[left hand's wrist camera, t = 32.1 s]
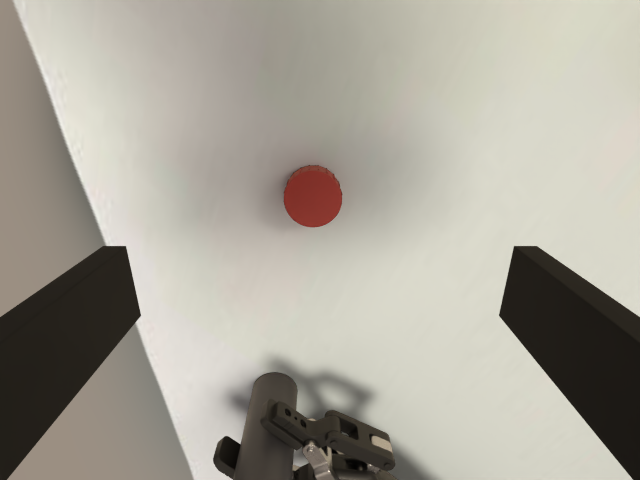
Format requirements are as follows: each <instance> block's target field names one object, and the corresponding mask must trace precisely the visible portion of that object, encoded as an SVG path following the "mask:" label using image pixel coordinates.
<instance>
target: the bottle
mask: <svg viewBox="0 0 640 480" xmlns="http://www.w3.org/2000/svg"><path fill="white" fill-rule="evenodd" d="M269 399H273V400H275V401H276V402H278V401H281V402H284V403H286V404H288V405H289V406H290V407H292V408H293V409H294V410H296V404H297V386H296V384H295V382H294V381H293V380H292V379H291V378H290V377H288V376H287V375H284V374H281V373H268V374H265V375H263V376H261V377H260V378H258V379H257V381H256V382H255V384H254V386H253V391H252V395H251V400H250V404H249V409H248V414H247V418H246V423H245V427H244V432H243V436H242V441H241V446H240V450H239V455H238V459H237V464H236V469H235V473H234V478H233V480H292V469H293V453H294V448H292V447H291V446H289V445H288V444H286V443H285V442H283V441H282V440H280V439H279V438H278V437H276V436H275V435H273V434H272V433H270V432H269V431H267V430H266V429H265V428H263V427H262V425H261V423H260V416H261V411H262V405H263V404H264V403H265V402H266V401H268V400H269Z"/></svg>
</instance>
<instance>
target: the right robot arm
mask: <svg viewBox="0 0 640 480" xmlns="http://www.w3.org/2000/svg"><path fill="white" fill-rule="evenodd" d="M260 423H261V425H262V427H263V428H265V429H266V430H267V431H269V432H270V433H272V434H273V435H275V436H276V437H278V438H279V439H280V440H282V441H283V442H285V443H286V444H288V445H289V446H291V447H292V448H294V449H295V450H296V451H297V450H298V449H299V448H300V447H303V449H302V451H303V454H304V455H305V457H306V458H307V460H308V461H309V463H308V464H306V465H304V466H302V467H299V466H295V465H293V469H292V480H398V479H396V478H395V477H394V476H392V475H391V474H390V473H388V472H387V471H388V470H391V469H393V468H394V467H395V461H394V457H393V452H392V448H391V443H390V439H389V435H388V434H387V433H385V432H383V431H380V430H378V429H376V428H373V427H371V426H369V425H367V424H364V423H362V422H360V421H358V420H355V419H353V418H351V417H348V416H346V415H344V414H342V413H339V412H337V411H334V410H331V411H328V412H327V413H326V414H325V418H323V419H320V420H315V419H307V418H305V417H304V416H303V415H301V414H300V413H299V412H297V411H296V410H294V409H293V408H292V407H290V406H289V405H288V404H286V403H284V402H281V401H278V402H276V401H275V400H273V399H269V400H268V401H266V402H265V403H264V404H263V405H262V411H261V416H260ZM341 431H342V432H344V433H346V434H348V436H349V437H348V436H346V435H344V434H341ZM240 446H241V445H240V444H239V443H237V442H236V441H234V440H233V439H231V438H230V437H228V436H225V437H224V438H222V439H221V440H220V441H219V442H218V444H217V447H216V451H215V454H214V458H213V462H214V464H215V466H216V468H217V469H218V470H219V471H220V472H222V473H223V474H224V473H225V475H227V476H229V477H230V478H232V479H233V478H234V473H235V469H236V464H237V459H238V455H239V450H240ZM343 453H344V454H346V455H344V454H343Z"/></svg>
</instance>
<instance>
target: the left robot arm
mask: <svg viewBox="0 0 640 480" xmlns="http://www.w3.org/2000/svg"><path fill="white" fill-rule="evenodd" d="M140 316H141V314H140V309H139V304H138V300H137V295H136V291H135V286H134V281H133V277H132V272H131V268H130V263H129V258H128V254H127V249H126V246H103V247H101V248H100V249H98V250H97V251H96V252H94V253H93V254H91V255H90V256H88V257H87V258H85V259H84V260H83V261H81V262H80V263H78V264H77V265H75V266H74V267H72V268H71V269H69V270H68V271H67V272H65V273H64V274H62V275H61V276H59V277H58V278H56V279H55V280H53V281H52V282H51V283H49V284H48V285H46V286H45V287H43V288H42V289H40V290H39V291H38V292H36V293H35V294H33V295H32V296H30V297H29V298H28V299H26V300H25V301H23V302H22V303H20V304H19V305H17V306H16V307H14V308H13V309H11V310H10V311H9V312H7V313H6V314H4V315H3V316H1V317H0V480H7V479H8V478H9V476H10V475H11V474H12V473H13V471H14V470H15V469H16V468H17V467H18V465H19V464H20V463H21V462H22V460H23V459H24V458H25V457H26V456H27V454H28V453H29V452H30V451H31V449H32V448H33V447H34V446H35V445H36V443H37V442H38V441H39V440H40V438H41V437H42V436H43V435H44V434H45V432H46V431H47V430H48V429H49V427H50V426H51V425H52V424H53V422H54V421H55V420H56V419H57V418H58V416H59V415H60V414H61V413H62V411H63V410H64V409H65V408H66V407H67V405H68V404H69V403H70V402H71V400H72V399H73V398H74V397H75V396H76V394H77V393H78V392H79V391H80V389H81V388H82V387H83V386H84V385H85V383H86V382H87V381H88V380H89V378H90V377H91V376H92V375H93V374H94V372H95V371H96V370H97V369H98V367H99V366H100V365H101V364H102V363H103V361H104V360H105V359H106V358H107V356H108V355H109V354H110V353H111V352H112V350H113V349H114V348H115V347H116V345H117V344H118V343H119V342H120V340H121V339H122V338H123V337H124V336H125V334H126V333H127V332H128V331H129V330H130V328H131V327H132V326H133V325H134V323H135V322H136V321H137V320H138V319H139V317H140ZM499 316H500V317H501V319H502V320H503V321H504V322H505V323H506V325H507V326H508V327H509V328H510V330H511V331H512V332H513V333H514V334H515V336H516V337H517V338H518V339H519V341H520V342H521V343H522V344H523V345H524V347H525V348H526V349H527V350H528V352H529V353H530V354H531V355H532V356H533V358H534V359H535V360H536V361H537V363H538V364H539V365H540V366H541V367H542V369H543V370H544V371H545V372H546V374H547V375H548V376H549V377H550V378H551V380H552V381H553V382H554V383H555V385H556V386H557V387H558V388H559V389H560V391H561V392H562V393H563V394H564V396H565V397H566V398H567V399H568V400H569V402H570V403H571V404H572V405H573V407H574V408H575V409H576V410H577V412H578V413H579V414H580V415H581V416H582V418H583V419H584V420H585V421H586V423H587V424H588V425H589V426H590V427H591V429H592V430H593V431H594V432H595V434H596V435H597V436H598V437H599V438H600V440H601V441H602V442H603V443H604V445H605V446H606V447H607V448H608V449H609V451H610V452H611V453H612V454H613V456H614V457H615V458H616V459H617V460H618V462H619V463H620V464H621V465H622V467H623V468H624V469H625V470H626V471H627V473H628V474H629V475H630V476H631V478H632V479H633V480H640V317H639V316H637V315H636V314H634V313H633V312H631V311H630V310H629V309H627V308H626V307H624V306H623V305H621V304H620V303H618V302H617V301H615V300H614V299H613V298H611V297H610V296H608V295H607V294H605V293H604V292H602V291H601V290H600V289H598V288H597V287H595V286H594V285H592V284H591V283H589V282H588V281H587V280H585V279H584V278H582V277H581V276H579V275H578V274H576V273H575V272H573V271H572V270H571V269H569V268H568V267H566V266H565V265H563V264H562V263H560V262H559V261H558V260H556V259H555V258H553V257H552V256H550V255H549V254H547V253H546V252H544V251H543V250H542V249H540V248H539V247H537V246H514V249H513V254H512V258H511V263H510V268H509V272H508V277H507V281H506V286H505V291H504V295H503V300H502V304H501V309H500V314H499Z"/></svg>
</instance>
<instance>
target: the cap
mask: <svg viewBox="0 0 640 480" xmlns="http://www.w3.org/2000/svg"><path fill="white" fill-rule="evenodd" d="M284 204H285V208H286V210H287V212H288V214H289V215H290V217H291V218H292V219H293V220H294V221H296V222H297V223H299V224H301V225H303V226H307V227H319V226H323V225H325V224H327V223H329V222H330V221H332V220H333V219H334V218H335V217H336V215H337V214H338V212H339V210H340V208H341V204H342V192H341V189H340V185H339V181H337V179H336V178H335V176H334V174H332V173H331V172H330V171H329V170H327V168H326V169H325V168H323V167H320V166H319V165H318V166H310V165H309V166H306V167H303V168H302V167H301V168H300V169H299V170H297V171H296V172H295V173H293V175H292V176H291V178H290V179H288V182H287V187H286V188H285V191H284Z"/></svg>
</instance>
